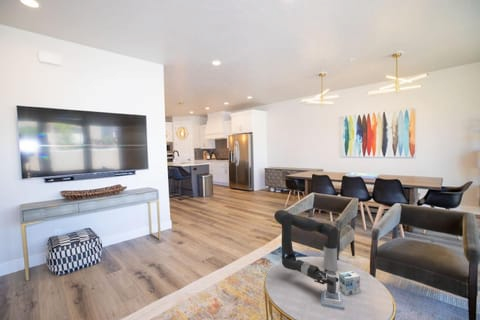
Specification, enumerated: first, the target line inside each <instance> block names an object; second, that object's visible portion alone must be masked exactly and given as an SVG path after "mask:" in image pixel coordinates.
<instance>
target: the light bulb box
mask: <svg viewBox="0 0 480 320" xmlns="http://www.w3.org/2000/svg"><path fill="white" fill-rule="evenodd" d="M338 285H339V286H338V289H339V290H340V291H341V293H342V294H344V295H345V296H349V295H353V294H355V295H356V294H360V293H361V276H360V275H359V274H358V273H357V272H355V271H354V270H351V271H349V270H348V271H344V272H343V271H342V272H338Z"/></svg>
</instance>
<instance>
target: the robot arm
mask: <svg viewBox="0 0 480 320" xmlns="http://www.w3.org/2000/svg"><path fill="white" fill-rule="evenodd" d="M273 217H274V220H275V221H276V222H277V223H278V224H280V225H281V227H282V237H281V250H282V253H283V254H284V255H285V256H284V257H283V258H282V260H281V264H282V266H283V267H284V268H285V269H288V270H292V271H297V272H299V273H301V274H303V275H304V276H307V277H308V278H311V279H313V281H314V283H318V284H320V285H327V284H329V285H331V286H334V282H332V281H330V280H327V271H334V272H335V273H336V272H337V271H338V243H339V229H338V228H337V226H334V225H332V224H330V223H326V222H325V223H324V222H319V221H317V220H315V219H312V218H309V217H306V216H301V215H296V214H293V213H290V212H287V211H286V210H284V209H278V210H277V211H276V212H274V216H273ZM292 226H293V227H295V228H297V229H299V230H302V231H304V232H305V231H306V232H308V233H312V232H315V233H319V234H321V235H323V236H325V237H326V238H327V240H324V241H323V268H324V270H321V269H320V268H319V267H318V266H316V265H313V264H311V263H309V262H307V261H303V260H301V259H297V257H296V255H295V252H294V247H293V241H292V228H293V227H292ZM336 283H339V277H337V276H336Z"/></svg>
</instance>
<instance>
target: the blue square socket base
mask: <svg viewBox="0 0 480 320" xmlns="http://www.w3.org/2000/svg"><path fill="white" fill-rule="evenodd" d="M320 291H321V292H320V297H321V299H320V300H321V303H320V304H321V307H327V308H332V309H337V310H341V311H345V304H344V299H343V293H340V291H336V293H335V294H332V293H329V292H328V291H327V289H324V290H320Z"/></svg>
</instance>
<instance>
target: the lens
mask: <svg viewBox="0 0 480 320" xmlns="http://www.w3.org/2000/svg"><path fill="white" fill-rule="evenodd" d="M326 277H327V280H330V281H332V282H334V286H331V285H329V284H326V290H327V291H328V292H329V293H332V294H335V293H336V292H337V282H336V277H337V272H336V271H335V272H334V271H327V275H326Z"/></svg>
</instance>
